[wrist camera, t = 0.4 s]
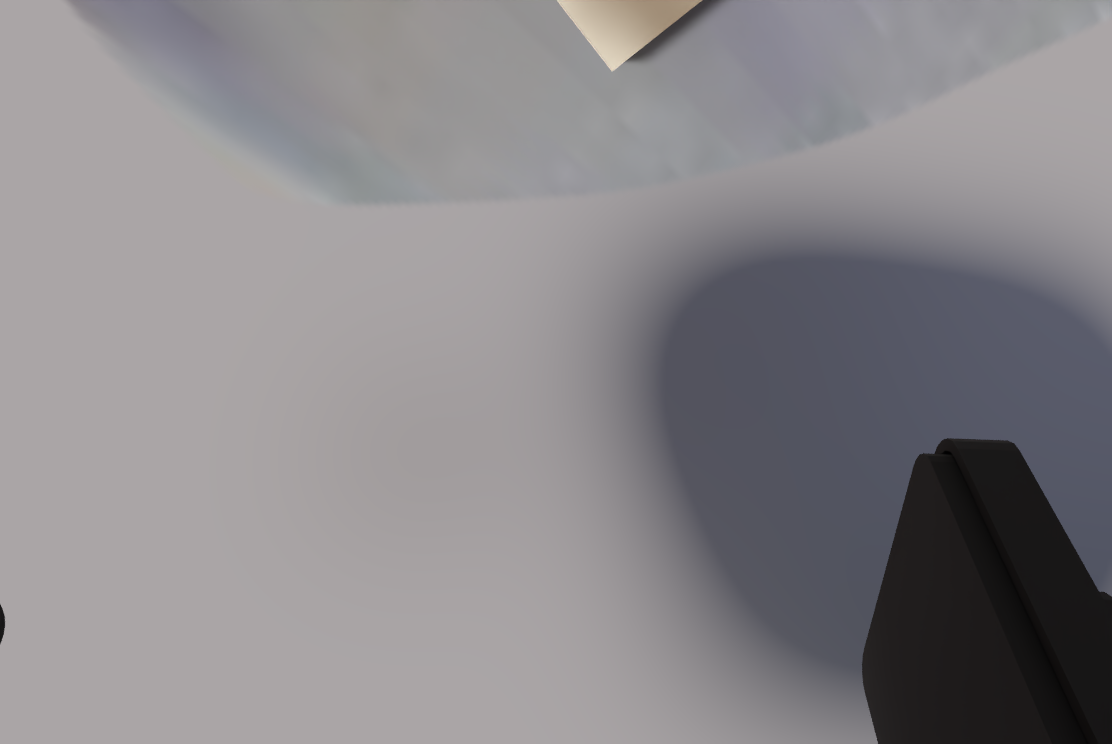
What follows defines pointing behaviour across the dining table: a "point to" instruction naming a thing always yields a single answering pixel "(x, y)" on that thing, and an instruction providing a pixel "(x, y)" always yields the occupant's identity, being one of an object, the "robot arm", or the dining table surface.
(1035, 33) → the dining table surface
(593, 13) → the birch board
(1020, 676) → the robot arm
